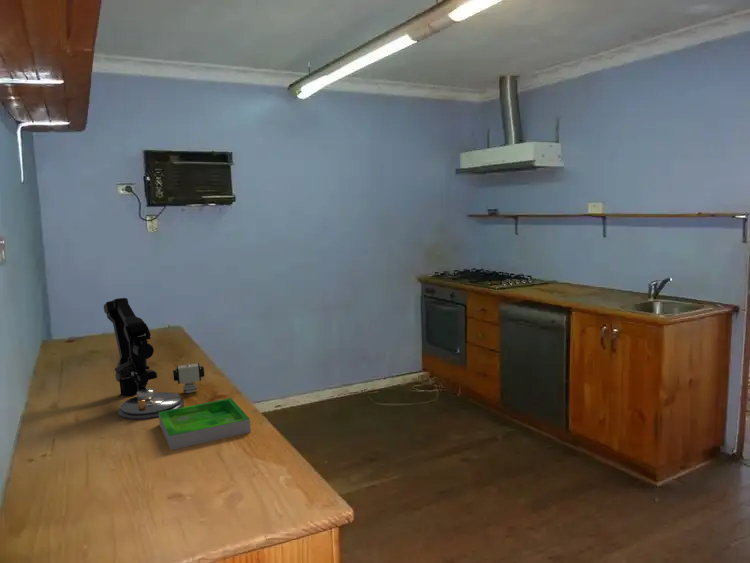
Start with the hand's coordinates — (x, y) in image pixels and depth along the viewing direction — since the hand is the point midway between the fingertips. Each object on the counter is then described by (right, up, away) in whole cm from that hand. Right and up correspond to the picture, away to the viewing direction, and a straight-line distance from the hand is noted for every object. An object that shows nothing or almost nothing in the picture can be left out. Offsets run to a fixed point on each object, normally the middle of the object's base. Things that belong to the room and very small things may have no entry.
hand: (141, 393), depth 219 cm
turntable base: (+6, -4, -6) cm, 10 cm away
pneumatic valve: (+15, -2, +12) cm, 19 cm away
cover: (+3, -1, -3) cm, 4 cm away
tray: (+33, -7, -28) cm, 44 cm away
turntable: (+6, -3, -6) cm, 9 cm away
